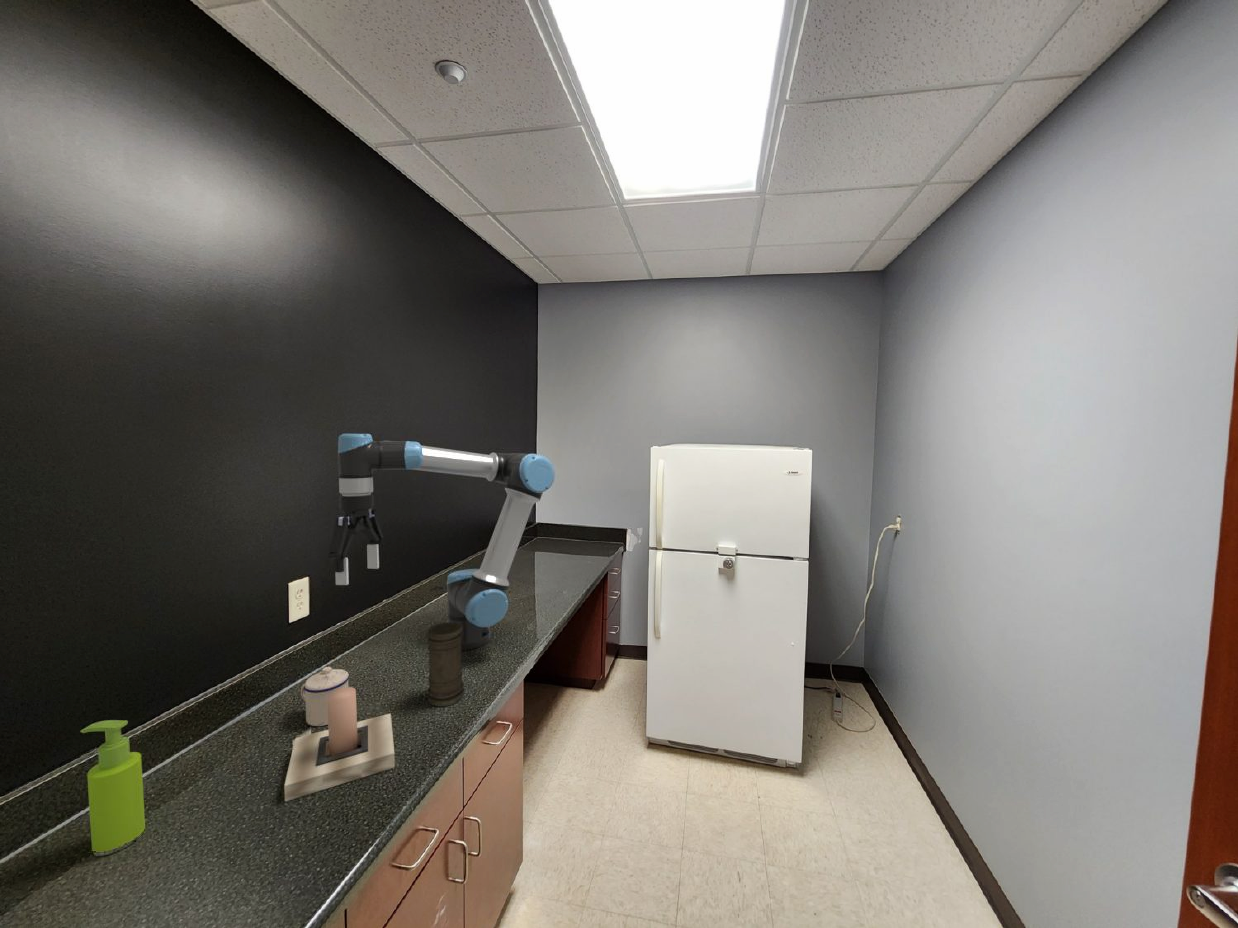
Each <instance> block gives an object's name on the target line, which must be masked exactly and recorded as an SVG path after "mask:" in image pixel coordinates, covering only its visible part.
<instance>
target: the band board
mask: <svg viewBox="0 0 1238 928" xmlns="http://www.w3.org/2000/svg"><path fill="white" fill-rule="evenodd" d="M393 734H394V733H393V722H392V714H391V713H386V714H383V715H379V716H375V717H371V718H367V719H364V720H360V721H357V739H358V749H356V750H352V751H349V752H345V753H342V754H338V755H334V756H331V757H330V756H329V730H328V729H326V730H321V731H318V732H313V733H309V734H307V735H303V736H298V737H294V739H295V740H294V743H293V747H292V752H291V755H290V756H291V757H290V761H289V765H288V770H287V772H286V777H285V781H284V802H285V803H286V802H288V801H291V800H295V799H298V798H301V797H306V796H307V795H311V794H315V793H317V792H320V791H323V790H326V789H331V788H333V787H334V788H335V787H337V786H339V785H343V784H346V783H349V782H352V781H355V780H359V779H362V778H365V777H368V776H372V775H375V774H379V773H381V772H385V771H388V770H392V769H394V768H395V767H396V765H395V763H396V761H395V746H394V735H393ZM360 746H361V747H360Z"/></svg>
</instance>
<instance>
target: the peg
mask: <svg viewBox="0 0 1238 928" xmlns="http://www.w3.org/2000/svg"><path fill="white" fill-rule="evenodd" d="M327 703H328V725H327V726H328V727H327V728H328V729H327V730H329V755H328V757H331V756H334V755H338V754H342V753H345V752H349V751H352V750H356V749H359V746H358V739H357V722H358V720H357V719H358V716H357V715H358V714H357V713H358V712H357V711H358V710H357V690H356V688H355V687H351V686H348V687H345V688H340V689H337V690H335V691H333V692H331V693H330V694H329V695H328V697H327Z"/></svg>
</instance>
